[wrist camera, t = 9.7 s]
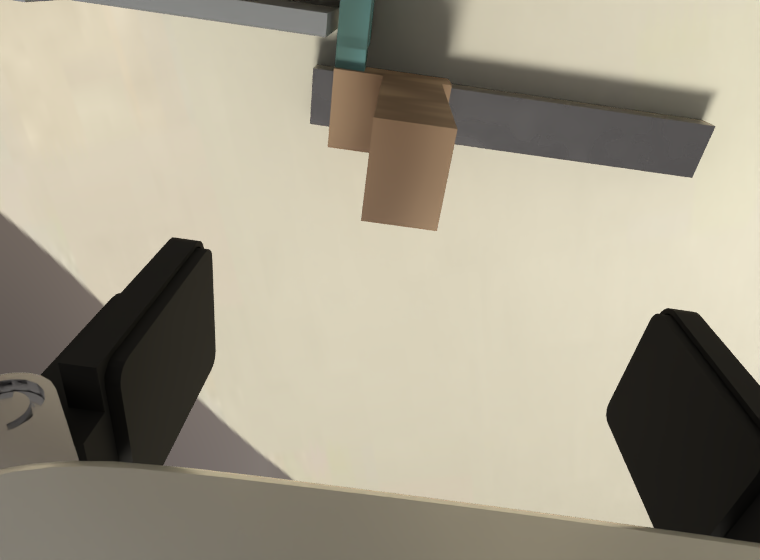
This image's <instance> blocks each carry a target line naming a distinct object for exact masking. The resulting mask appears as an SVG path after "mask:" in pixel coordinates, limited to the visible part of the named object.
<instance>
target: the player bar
mask: <svg viewBox="0 0 760 560" xmlns="http://www.w3.org/2000/svg"><path fill="white" fill-rule="evenodd" d="M374 2H375V0H340V8H339V21H338V33H337V46H336V59H335V68H334V73H333V86H332V99H331V112H330V125H329V138H328V147H332V148H339V149H346V150H353V151H360V152H367V153H369V159H368V168H367V176H366V184H365V193H364V201H363V209H362V218H361V221H367V222H375V223H382V224H389V225H397V226H404V227H411V228H419V229H426V230H433V231H437V227H438V222H439V217H440V213H441V208H442V203H443V198H444V193H445V188H446V183H447V178H448V173H449V168H450V163H451V158H452V154H453V149H454V144H455V139H456V134H457V126H456V124H455V121H454V118H453V115H452V112H451V109H450V106H449V98H450V93H451V88H452V85H451V82H450V80H449V79H446V78H439V77H432V76H425V75H418V74H412V73H405V72H398V71H391V70H384V69H377V68H370V67H366V62H367V53H368V46H369V45H370V39H371V29H372V20H373V11H374Z"/></svg>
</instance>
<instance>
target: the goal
mask: <svg viewBox="0 0 760 560" xmlns="http://www.w3.org/2000/svg"><path fill="white" fill-rule="evenodd" d="M14 1H21V2H35V1H51V0H14ZM74 1H81V2H87V3H94V4H101V5H108V6H115V7H122V8H129V9H135V10H142V11H149V12H156V13H163V14H170V15H177V16H183V17H190V18H197V19H204V20H211V21H218V22H225V23H231V24H238V25H245V26H252V27H259V28H266V29H272V30H279V31H286V32H293V33H300V34H307V35H314V36H320V37H327V36H328V35H330V34H331V33H332V32H334V31H335V30H336V29H338V21H339V8H337V7H330V6H323V5H316V4H309V3H303V2H296V1H289V0H74Z"/></svg>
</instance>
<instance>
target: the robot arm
mask: <svg viewBox="0 0 760 560" xmlns="http://www.w3.org/2000/svg"><path fill="white" fill-rule="evenodd" d="M215 352H216V348H215V321H214V294H213V267H212V253H211V251H210V250H209V249H204V247H203V244H202V242H201V241H195V240H188V239H181V238H171V239H170V240H169V241H168V242H167V243H166V244H165V245H164V246H163V247H162V248H161V250H160V251H159V252H158V253H157V254H156V255H155V256H154V257H153V258H152V259H151V261H150V262H149V263H148V264H147V265H146V266H145V267H144V268H143V269H142V270H141V272H140V273H139V274H138V275H137V276H136V277H135V278H134V279H133V280H132V281H131V283H130V284H129V285H128V286H127V287H126V288H125V289H124V290H123V291H122V292H121V293H119V294H116V295H115V296H114V297H112V298H111V299H110V300H109V301H108V303H107V304H106V305H105V306H104V307H103V308H102V309H101V310H100V311H99V312H98V313H97V314H96V316H95V317H94V318H93V319H92V320H91V321H90V322H89V323H88V324H87V325H86V327H85V328H84V329H83V330H82V331H81V332H80V333H79V334H78V335H77V336H76V337H75V338H74V339H73V340H72V342H71V343H70V344H69V345H68V346H67V347H66V348H65V349H64V350H63V351H62V352H61V353H60V355H59V356H58V357H57V358H56V359H55V360H54V361H53V362H52V363H51V364H50V365H49V366H48V368H47V369H46V370H45V371H44V372H43V373H42V374H41V375H36V374H31V373H8V374H2V375H0V560H760V385H759V384H758V383H757V382H756V381H755V379H754V378H753V377H752V376H751V375H750V374H749V372H748V371H747V370H746V369H745V368H744V367H743V365H742V364H741V363H740V362H739V361H738V359H737V358H736V357H735V356H734V355H733V354H732V352H731V351H730V350H729V349H728V348H727V347H726V345H725V344H724V343H723V342H722V341H721V339H720V338H719V337H718V336H717V335H716V334H715V332H714V331H713V330H712V329H711V328H710V327H709V325H708V324H707V323H706V322H705V321H704V319H703V318H702V317H701V316H700V315H699V314H698V313H696V312H691V311H684V310H677V309H670V308H667V309H664V310H663V311H662V312H661V313H660V314H655V315H654V316H653V317H652V318H651V320H650V322H649V324H648V326H647V328H646V330H645V332H644V334H643V336H642V338H641V340H640V342H639V344H638V346H637V348H636V350H635V352H634V354H633V356H632V358H631V360H630V362H629V364H628V366H627V368H626V370H625V372H624V374H623V376H622V378H621V380H620V382H619V384H618V386H617V388H616V390H615V392H614V394H613V396H612V398H611V400H610V402H609V404H608V407H607V412H606V417H607V422H608V424H609V427H610V429H611V431H612V434H613V436H614V438H615V440H616V443H617V445H618V447H619V449H620V452H621V454H622V456H623V459H624V461H625V463H626V465H627V468H628V470H629V472H630V474H631V477H632V479H633V481H634V484H635V486H636V488H637V490H638V493H639V495H640V497H641V499H642V502H643V504H644V506H645V508H646V511H647V513H648V515H649V518H650V520H651V522H652V524H653V527H654V528H650V527H642V526H635V525H628V524H621V523H613V522H606V521H599V520H592V519H584V518H577V517H570V516H562V515H555V514H547V513H540V512H532V511H525V510H517V509H510V508H502V507H495V506H487V505H480V504H472V503H464V502H457V501H449V500H442V499H434V498H426V497H419V496H411V495H404V494H396V493H388V492H380V491H372V490H364V489H356V488H348V487H340V486H333V485H325V484H317V483H309V482H301V481H293V480H285V479H277V478H269V477H261V476H253V475H245V474H236V473H228V472H219V471H210V470H202V469H193V468H183V467H173V466H163V464H164V462H165V460H166V458H167V456H168V454H169V452H170V451H171V449H172V446H173V445H174V442H175V441H176V439H177V436H178V435H179V433H180V431H181V428H182V427H183V425H184V423H185V421H186V419H187V417H188V415H189V412H190V411H191V409H192V407H193V405H194V403H195V401H196V399H197V397H198V395H199V393H200V391H201V389H202V387H203V385H204V383H205V381H206V379H207V377H208V375H209V373H210V371H211V369H212V367H213V364H214V360H215Z"/></svg>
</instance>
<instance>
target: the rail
mask: <svg viewBox="0 0 760 560" xmlns="http://www.w3.org/2000/svg"><path fill="white" fill-rule="evenodd" d="M334 68H335V67H332V66H325V65H318V64H317V65H316V66H315V67H314V68H313V83H312V100H311V117H310V124H315V125H322V126H329V125H330V112H331V99H332V86H333V73H334ZM451 85H452V88H451V93H450V98H449V106H450V109H451V112H452V115H453V118H454V121H455V124H456V126H457V134H456V139H455V144H457V145H464V146H471V147H478V148H485V149H492V150H499V151H506V152H514V153H521V154H528V155H535V156H542V157H549V158H556V159H563V160H570V161H577V162H584V163H591V164H599V165H606V166H613V167H620V168H627V169H634V170H641V171H648V172H655V173H662V174H669V175H676V176H684V177H691V178H692V177H693V174H694V172H695V170H696V168H697V166H698V163H699V161H700V159H701V157H702V155H703V153H704V150H705V148H706V146H707V144H708V142H709V139H710V137H711V135H712V133H713V131H714V128H715V126H714V125H712V124H710V123H707V122H705V121H703V120H699V119H692V118H685V117H678V116H672V115H665V114H658V113H651V112H644V111H637V110H630V109H623V108H616V107H609V106H602V105H595V104H588V103H582V102H575V101H568V100H561V99H554V98H547V97H540V96H533V95H526V94H519V93H512V92H505V91H498V90H492V89H485V88H478V87H471V86H464V85H457V84H451Z"/></svg>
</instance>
